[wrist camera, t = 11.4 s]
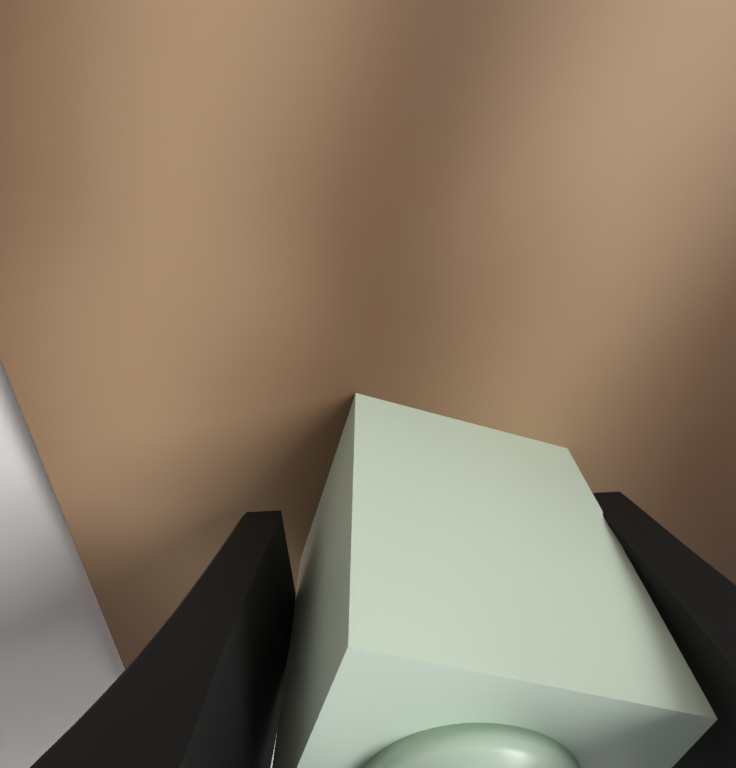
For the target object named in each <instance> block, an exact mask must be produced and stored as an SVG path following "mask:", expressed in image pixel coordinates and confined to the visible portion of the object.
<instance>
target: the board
mask: <svg viewBox="0 0 736 768" xmlns="http://www.w3.org/2000/svg"><path fill="white" fill-rule="evenodd" d="M0 360H1V362H2V364H3V367H4V369H5V372H6V374H7V377H8V379H9V382H10V384H11V387H12V389H13V392H14V394H15V397H16V399H17V402H18V404H19V407H20V409H21V412H22V414H23V417H24V419H25V422H26V424H27V426H28V429H29V431H30V434H31V436H32V439H33V441H34V444H35V446H36V449H37V451H38V454H39V456H40V459H41V461H42V464H43V466H44V469H45V471H46V474H47V476H48V479H49V481H50V484H51V486H52V488H53V491H54V493H55V496H56V498H57V501H58V503H59V506H60V508H61V511H62V513H63V516H64V518H65V521H66V523H67V526H68V528H69V531H70V533H71V536H72V538H73V541H74V543H75V546H76V548H77V550H78V553H79V555H80V558H81V560H82V563H83V565H84V568H85V570H86V573H87V575H88V578H89V580H90V583H91V585H92V588H93V590H94V593H95V595H96V598H97V600H98V603H99V605H100V608H101V610H102V612H103V615H104V617H105V620H106V622H107V625H108V627H109V630H110V632H111V635H112V637H113V640H114V642H115V645H116V647H117V650H118V652H119V655H120V657H121V660H122V662H123V665H124V667H125V670H126V669H127V667H128V666H129V665H130V664H131V663H132V662H133V661H134V659H135V658H136V657H137V656H138V655H139V654H140V652H141V651H142V650H143V649H144V647H145V646H146V645H147V644H148V643H149V641H150V640H151V639H152V638H153V637H154V635H155V634H156V633H157V632H158V631H159V629H160V628H161V627H162V626H163V625H164V623H165V622H166V621H167V620H168V619H169V617H170V616H171V615H172V613H173V612H174V611H175V610H176V608H177V607H178V606H179V604H180V603H181V602H182V600H183V599H184V598H185V596H186V595H187V594H188V592H189V591H190V590H191V588H192V587H193V586H194V584H195V583H196V582H197V580H198V579H199V578H200V576H201V575H202V574H203V572H204V571H205V570H206V568H207V567H208V565H209V564H210V563H211V561H212V560H213V558H214V557H215V555H216V554H217V553H218V551H219V550H220V548H221V547H222V545H223V544H224V542H225V541H226V540H227V538H228V537H229V535H230V534H231V532H232V531H233V529H234V528H235V526H236V525H237V523H238V522H239V520H240V519H241V517H242V516H243V515H244V514H245V513H246V512H258V511H276V510H281V513H282V519H283V524H284V530H285V536H286V541H287V547H288V553H289V559H290V564H291V570H292V576H293V581H294V587H295V593H296V589H297V581H298V574H299V566H300V559H301V556H302V553H303V550H304V547H305V544H306V541H307V538H308V535H309V532H310V529H311V526H312V523H313V520H314V517H315V514H316V511H317V508H318V505H319V502H320V499H321V496H322V493H323V490H324V487H325V484H326V481H327V478H328V475H329V472H330V469H331V466H332V463H333V460H334V457H335V454H336V451H337V448H338V444H339V441H340V438H341V435H342V432H343V429H344V426H345V423H346V420H347V417H348V414H349V411H350V408H351V405H352V402H353V399H354V396H355V393H358V394H362V395H365V396H369V397H373V398H377V399H381V400H385V401H388V402H392V403H396V404H400V405H404V406H407V407H411V408H415V409H419V410H423V411H427V412H430V413H434V414H438V415H442V416H446V417H450V418H453V419H457V420H461V421H465V422H469V423H473V424H476V425H480V426H484V427H488V428H492V429H496V430H499V431H503V432H507V433H511V434H515V435H518V436H522V437H526V438H530V439H534V440H538V441H541V442H545V443H549V444H553V445H557V446H561V447H564V448H568V450H569V452H570V454H571V455H572V457H573V459H574V461H575V463H576V464H577V466H578V468H579V470H580V472H581V473H582V475H583V477H584V479H585V481H586V482H587V484H588V486H589V488H590V490H591V491H592V493H600V492H618V491H620V492H621V493H622V494H624V495H625V496H626V497H627V498H629V499H630V500H631V501H632V502H634V503H635V504H636V505H637V506H638V507H640V508H641V509H642V510H643V511H644V512H646V513H647V514H648V515H649V516H650V517H652V518H653V519H654V520H655V521H656V522H658V523H659V524H660V525H661V526H663V527H664V528H665V529H666V530H667V531H669V532H670V533H671V534H672V535H673V536H675V537H676V538H677V539H678V540H680V541H681V542H682V543H683V544H684V545H686V546H687V547H688V548H689V549H691V550H692V551H693V552H694V553H696V554H697V555H698V556H699V557H701V558H702V559H703V560H704V561H706V562H707V563H708V564H709V565H711V566H712V567H713V568H714V569H716V570H717V571H718V572H719V573H721V574H722V575H723V576H725V577H726V578H727V579H729V580H730V581H731V582H732V583H734V584H735V585H736V0H0Z"/></svg>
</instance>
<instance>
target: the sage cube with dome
mask: <svg viewBox="0 0 736 768" xmlns="http://www.w3.org/2000/svg"><path fill="white" fill-rule="evenodd" d="M716 720H717V717H716V715H715V713H714V711H713V710H712V708H711V706H710V704H709V702H708V701H707V699H706V697H705V695H704V693H703V692H702V690H701V688H700V686H699V684H698V683H697V681H696V679H695V677H694V675H693V674H692V672H691V670H690V668H689V666H688V665H687V663H686V661H685V659H684V657H683V656H682V654H681V652H680V650H679V648H678V646H677V645H676V643H675V641H674V639H673V637H672V636H671V634H670V632H669V630H668V628H667V627H666V625H665V623H664V621H663V619H662V618H661V616H660V614H659V612H658V610H657V609H656V607H655V605H654V603H653V601H652V600H651V598H650V596H649V594H648V592H647V591H646V589H645V587H644V585H643V583H642V582H641V580H640V578H639V576H638V574H637V573H636V571H635V569H634V567H633V565H632V564H631V562H630V560H629V558H628V556H627V555H626V553H625V551H624V549H623V547H622V545H621V544H620V542H619V540H618V539H617V537H616V536H615V534H614V533H613V531H612V530H611V528H610V527H609V525H608V523H607V522H606V520H605V518H604V516H603V511H602V509H601V508H600V506H599V504H598V502H597V500H596V499H595V497H594V495H593V493H592V491H591V490H590V488H589V486H588V484H587V482H586V481H585V479H584V477H583V475H582V473H581V472H580V470H579V468H578V466H577V464H576V463H575V461H574V459H573V457H572V455H571V454H570V452H569V450H568V448H564V447H561V446H557V445H553V444H549V443H545V442H541V441H538V440H534V439H530V438H526V437H522V436H518V435H515V434H511V433H507V432H503V431H499V430H496V429H492V428H488V427H484V426H480V425H476V424H473V423H469V422H465V421H461V420H457V419H453V418H450V417H446V416H442V415H438V414H434V413H430V412H427V411H423V410H419V409H415V408H411V407H407V406H404V405H400V404H396V403H392V402H388V401H385V400H381V399H377V398H373V397H369V396H365V395H362V394H358V393H355V396H354V399H353V402H352V405H351V408H350V411H349V414H348V417H347V420H346V423H345V426H344V429H343V432H342V435H341V438H340V441H339V444H338V448H337V451H336V454H335V457H334V460H333V463H332V466H331V469H330V472H329V475H328V478H327V481H326V484H325V487H324V490H323V493H322V496H321V499H320V502H319V505H318V508H317V511H316V514H315V517H314V520H313V523H312V526H311V529H310V532H309V535H308V538H307V541H306V544H305V547H304V550H303V553H302V556H301V559H300V566H299V574H298V581H297V589H296V598H295V608H294V616H293V623H292V631H291V638H290V645H289V651H288V657H287V663H286V670H285V678H284V685H283V693H282V700H281V708H280V715H279V722H278V730H277V737H276V745H275V752H274V760H273V767H272V768H672V767H673V766H674V765H675V764H676V763H677V762H678V761H679V760H680V758H681V757H682V756H683V755H684V754H685V753H686V752H687V751H688V750H689V749H690V748H691V747H692V746H693V745H694V744H695V743H696V742H697V741H698V739H699V738H700V737H701V736H702V735H703V734H704V733H705V732H706V731H707V730H708V729H709V728H710V727H711V726H712V725H713V724H714V723H715V722H716Z"/></svg>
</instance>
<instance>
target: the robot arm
mask: <svg viewBox="0 0 736 768" xmlns="http://www.w3.org/2000/svg"><path fill="white" fill-rule="evenodd" d="M593 495H594V497H595V499H596V500H597V502H598V504H599V506H600V508H601V509H602V511H603V516H604V518H605V520H606V522H607V523H608V525H609V527H610V528H611V530H612V531H613V533H614V534H615V536H616V537H617V539H618V540H619V542H620V544H621V545H622V547H623V549H624V551H625V553H626V555H627V556H628V558H629V560H630V562H631V564H632V565H633V567H634V569H635V571H636V573H637V574H638V576H639V578H640V580H641V582H642V583H643V585H644V587H645V589H646V591H647V592H648V594H649V596H650V598H651V600H652V601H653V603H654V605H655V607H656V609H657V610H658V612H659V614H660V616H661V618H662V619H663V621H664V623H665V625H666V627H667V628H668V630H669V632H670V634H671V636H672V637H673V639H674V641H675V643H676V645H677V646H678V648H679V650H680V652H681V654H682V656H683V657H684V659H685V661H686V663H687V665H688V666H689V668H690V670H691V672H692V674H693V675H694V677H695V679H696V681H697V683H698V684H699V686H700V688H701V690H702V692H703V693H704V695H705V697H706V699H707V701H708V702H709V704H710V706H711V708H712V710H713V711H714V713H715V715H716V717H717V720H716V722H715V723H714V724H713V725H712V726H711V727H710V728H709V729H708V730H707V731H706V732H705V733H704V734H703V735H702V736H701V737H700V738H699V739H698V741H697V742H696V743H695V744H694V745H693V746H692V747H691V748H690V749H689V750H688V751H687V752H686V753H685V754H684V755H683V756H682V757H681V758H680V760H679V761H678V762H677V763H676V764H675V765H674V766H673V767H672V768H736V585H735V584H734V583H732V582H731V581H730V580H729V579H727V578H726V577H725V576H723V575H722V574H721V573H719V572H718V571H717V570H716V569H714V568H713V567H712V566H711V565H709V564H708V563H707V562H706V561H704V560H703V559H702V558H701V557H699V556H698V555H697V554H696V553H694V552H693V551H692V550H691V549H689V548H688V547H687V546H686V545H684V544H683V543H682V542H681V541H680V540H678V539H677V538H676V537H675V536H673V535H672V534H671V533H670V532H669V531H667V530H666V529H665V528H664V527H663V526H661V525H660V524H659V523H658V522H656V521H655V520H654V519H653V518H652V517H650V516H649V515H648V514H647V513H646V512H644V511H643V510H642V509H641V508H640V507H638V506H637V505H636V504H635V503H634V502H632V501H631V500H630V499H629V498H627V497H626V496H625V495H624V494H622V493H621V492H620V491H618V492H600V493H593ZM295 598H296V593H295V587H294V581H293V576H292V570H291V564H290V559H289V553H288V547H287V541H286V536H285V530H284V524H283V519H282V513H281V510H276V511H258V512H246V513H245V514H244V515H243V516H242V517H241V519H240V520H239V522H238V523H237V525H236V526H235V528H234V529H233V531H232V532H231V534H230V535H229V537H228V538H227V540H226V541H225V542H224V544H223V545H222V547H221V548H220V550H219V551H218V553H217V554H216V555H215V557H214V558H213V560H212V561H211V563H210V564H209V565H208V567H207V568H206V570H205V571H204V572H203V574H202V575H201V576H200V578H199V579H198V580H197V582H196V583H195V584H194V586H193V587H192V588H191V590H190V591H189V592H188V594H187V595H186V596H185V598H184V599H183V600H182V602H181V603H180V604H179V606H178V607H177V608H176V610H175V611H174V612H173V613H172V615H171V616H170V617H169V619H168V620H167V621H166V622H165V623H164V625H163V626H162V627H161V628H160V629H159V631H158V632H157V633H156V634H155V635H154V637H153V638H152V639H151V640H150V641H149V643H148V644H147V645H146V646H145V647H144V649H143V650H142V651H141V652H140V654H139V655H138V656H137V657H136V658H135V659H134V661H133V662H132V663H131V664H130V665H129V666H128V667H127V669H126V670H125V671H124V672H123V673H122V674H121V675H120V676H119V678H118V679H117V680H116V681H115V682H114V683H113V684H112V685H111V686H110V687H109V689H108V690H107V691H106V692H105V693H104V694H103V695H102V696H101V697H100V698H99V699H98V700H97V701H96V702H95V703H94V704H93V705H92V707H91V708H90V709H89V710H88V711H87V712H86V713H85V714H84V715H83V716H82V717H81V718H80V719H79V720H78V721H77V722H76V723H75V724H74V725H73V726H72V727H71V728H70V729H69V730H68V731H67V732H66V733H65V734H64V735H63V736H62V737H61V738H60V739H59V740H58V741H57V742H56V743H55V744H54V745H53V746H52V747H51V748H49V749H48V750H47V751H46V752H45V753H44V754H43V755H42V756H41V757H40V758H39V759H38V760H37V761H36V762H35V763H34V764H33V765H32V766H31V767H30V768H270V766H271V761H272V755H273V750H274V744H275V739H276V734H277V728H278V722H279V715H280V708H281V700H282V693H283V685H284V678H285V670H286V663H287V657H288V651H289V645H290V638H291V631H292V623H293V616H294V608H295Z"/></svg>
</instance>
